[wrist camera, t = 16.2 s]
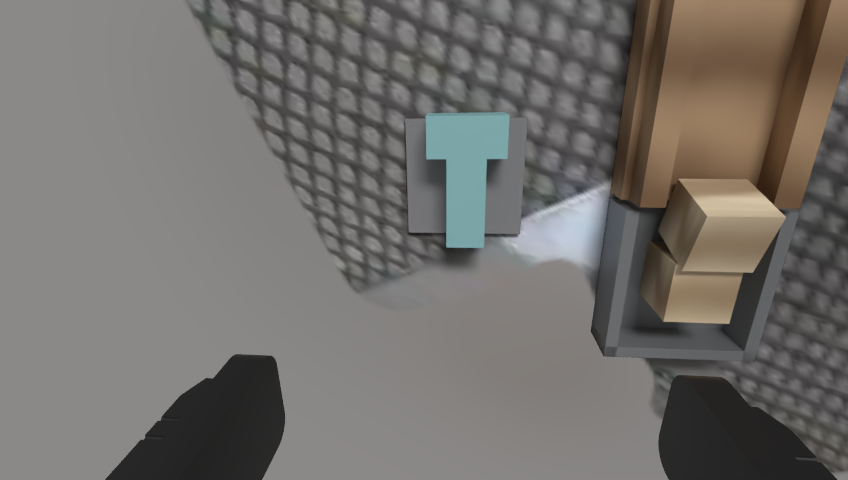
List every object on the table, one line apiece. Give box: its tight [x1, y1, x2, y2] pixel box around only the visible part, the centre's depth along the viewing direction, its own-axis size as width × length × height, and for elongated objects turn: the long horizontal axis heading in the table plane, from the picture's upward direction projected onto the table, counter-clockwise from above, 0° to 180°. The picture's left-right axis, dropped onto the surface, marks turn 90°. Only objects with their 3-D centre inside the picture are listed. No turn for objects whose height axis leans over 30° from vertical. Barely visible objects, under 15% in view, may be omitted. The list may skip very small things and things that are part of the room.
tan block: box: [639, 241, 743, 324], centre depth 28 cm, size 4×4×4 cm
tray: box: [591, 198, 800, 362], centre depth 29 cm, size 11×10×3 cm
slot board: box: [611, 0, 848, 209], centre depth 24 cm, size 17×10×4 cm, turn 1°
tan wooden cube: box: [658, 179, 786, 273], centre depth 25 cm, size 4×4×4 cm
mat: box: [405, 117, 528, 234], centre depth 29 cm, size 8×8×1 cm
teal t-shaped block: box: [426, 112, 510, 248], centre depth 28 cm, size 2×5×8 cm
